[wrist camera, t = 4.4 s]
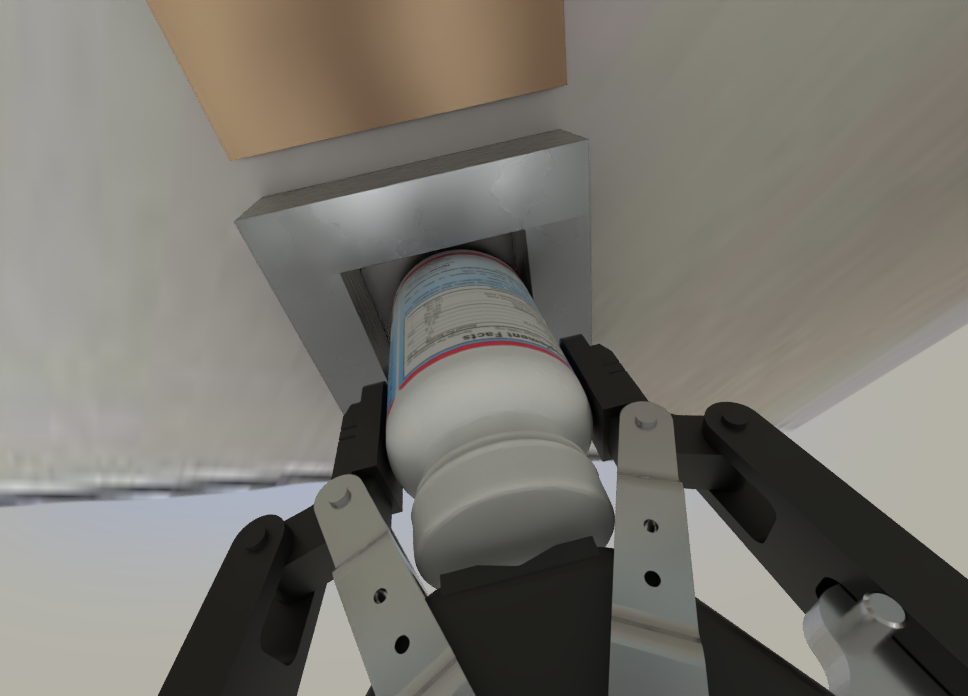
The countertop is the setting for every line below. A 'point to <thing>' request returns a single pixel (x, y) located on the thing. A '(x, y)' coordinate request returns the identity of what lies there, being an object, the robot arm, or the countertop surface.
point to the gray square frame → (424, 242)
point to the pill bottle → (486, 420)
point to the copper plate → (355, 62)
